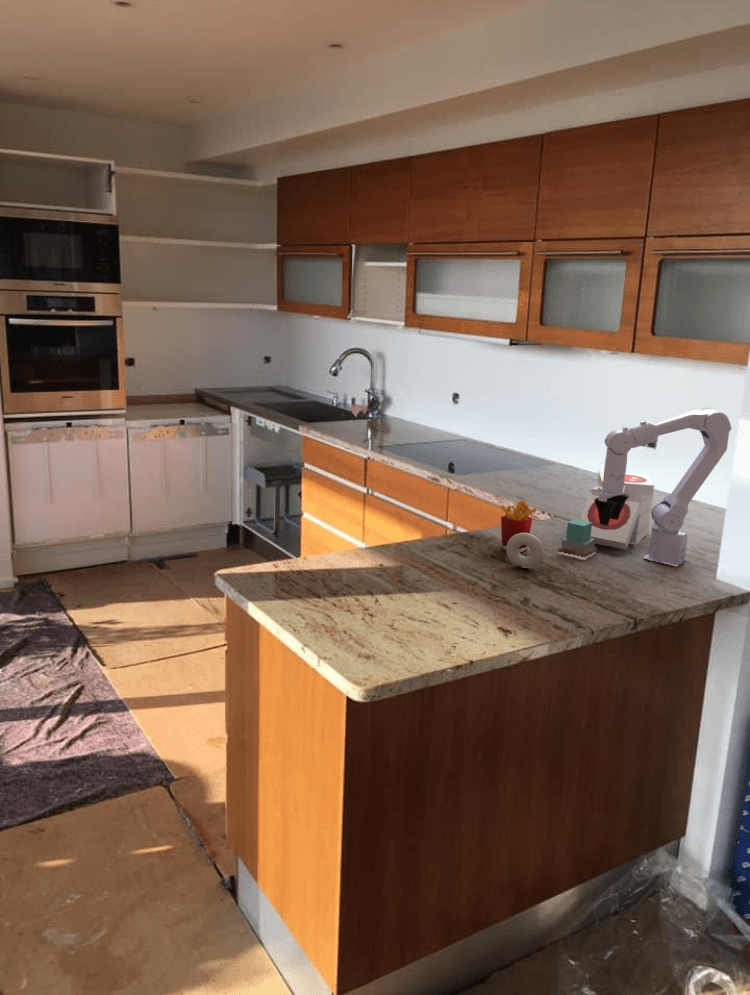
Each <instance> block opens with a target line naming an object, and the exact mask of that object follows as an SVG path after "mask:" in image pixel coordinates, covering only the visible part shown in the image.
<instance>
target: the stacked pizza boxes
mask: <svg viewBox="0 0 750 995" xmlns="http://www.w3.org/2000/svg"><path fill="white" fill-rule="evenodd" d="M597 474H598V475H597V483H598V484H597V485H596V486H594V487H592V489H591V494H589V496H588V498H587V501H586V503H585V506H584V509H583V511H582V513H581V516H580V519H579V520H583V521H587V522H592V528H591V538H592V539H595V543H594V545H595V544H597V545H601V546H607V547H611V548H617V549H621V550H627V549H628V546H629V544H628V543H629V542H630V543H635V544H636V543H637V542H638V543H640V542H641V541H642V540H643V539H644V538H645V537H646V536H647V535H648V534H649V529H650V521H651V511H652V508H653V507H652V506H653V499H654V490H655V484H654V483H653V481H652V480H651V478H650V476H649V475H648V474H646V473H645V474H644V473H633V472H626V474H625V482H624V486H626V487H625V493H624V494H627V495H629V497H628V499H627V500H626V502H625V503H624V505H623V508H622V510H621V513H620V516H619V518H618V520H615V519H610V521H609V524H608V525H602V524H600V521H599V513H598V509H597V506H596V504H595V499H596V498H599V494H600V493H601V491H599V490H598V488H599V487H602V486H603V477H604V470H598V473H597ZM644 536H645V537H644ZM643 537H644V538H643ZM642 538H643V539H642ZM641 539H642V540H641ZM640 540H641V541H640ZM638 543H637V544H638ZM637 544H636V545H637Z"/></svg>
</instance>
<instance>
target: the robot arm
mask: <svg viewBox="0 0 750 995" xmlns="http://www.w3.org/2000/svg"><path fill="white" fill-rule="evenodd" d="M686 429H692V430H695V431H699V433H700V434H701V437H702V440H703V444H704V446H703V448H702V449H701V451H700V452H699V453H698V455H697V456H696V457H695V459H694V461H693V462H692V464H691V465H690V466H689V468H688V469H687V470H686V471H685V473H684V475H683V476H682V477H681V479H680V481H678V483H677V485H676V486H675V488H674V489H673V490H672V492H671V493H669V494H668V495H665V496H664V497H663V498H662V500H661V501H660V502H658V503H656V504H655V505H653V507H652V508H651V515H650V517H651V518H652V520H653V521H654V522H653V524H652V526H651V533H650V535H651V536H650V542H649V548H648V554H647V555H645V556H644V557H643V558H644V559H646V558H647V559H649V560H653V561H658V562H666V563H670V564H674V565H678V564H680V563H681V564H683V563H684V562H685V561H686V554H687V553H686V552H687V546H688V534H687V533H685V532H682V531H680V529H682V527H683V525H684V520H685V517H686V515H687V514H688V510H689V504H690V503H691V501H692V499H693V498H694V497H695V495H696V493H697V492H698V491H699V490H700V488H701V487H702V486H703V484H704V483H705V481H706V480H707V479H708V477H709V475H710V474H711V473H712V471H714V468H715V467H716V466H717V465H718V463H719V462H720V460H721V459H722V457H723V456H724V454H725V453H726V451H727V450H728V444H729V434H730V432H731V430H732V425H731V421H730V419H729V417H728V415H727V414H725V413H723V412H720V411H717V410H715V409H713V408H712V407H702V408H701V409H693V410H690V411H688V412H686V413H683V414H680V415H677V416H674V417H672V418H669V419H666V420H663V421H660V422H657V423H653V422H652V421H645V420H641V421H640V422H639V423H638V424H636V425H633V426H630V427H627V426H623V427H622V430H619V429H614V430H611V431H610V432H609V433H608V434H607V435H606V438H604V444H605V446H606V453H605V454H606V456H605V460H604V469H603V471H604V477H603V486H602V487H599V488H598V490H599V491H601V493H600V494H599V498H596V499H595V504H596V506H597V509H598V513H599V521H600V524H602V525H608V524H609V521H610V519H615V520H618V518H619V516H620V513H621V510H622V508H623V505H624V503H625V502H626V500H627V499H628V497H629V495H627V494H624V493H625V487H626V486H624V482H625V474H626V473H627V464H628V455H629V454H628V453H629V452H630V451H631V449H635V448H638V447H641V446H644V445H648V444H651V443H654V442H657V439H658V438H659V437H660V436H662V435H667V434H670V433H675V432H678V431H681V430H686ZM644 559H643V560H644ZM684 560H685V561H684ZM683 561H684V562H683ZM681 564H680V565H681Z"/></svg>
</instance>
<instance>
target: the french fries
mask: <svg viewBox="0 0 750 995" xmlns="http://www.w3.org/2000/svg"><path fill="white" fill-rule="evenodd" d="M500 507H501V509H502V510H503V511H504V513H505V515H503V516H501V517H500V525H501V528H500V529H501V531H500V532H501V546H502V545H503V546H506V547H507V543H508V541H509V540H510V538H511V537H513V536H514V535H515V534H518V533H529V534H531V533H530V532H531V528H532V523H533V517H531V515H532V514H534V513H535V512H537V508H536V507H534V508H532V509H531V507H529V504H527V502H526V501H525V500H522V499H520V501H518V503H517V505H516V506H514V505H512V506H511V505H507V507H506V506H505V504H502V505H501V506H500ZM511 509H512V510H513V512H512V510H511ZM525 547H528V546H526V545H522V546H520V547H519V549H521V548H525Z"/></svg>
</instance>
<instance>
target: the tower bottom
mask: <svg viewBox="0 0 750 995" xmlns="http://www.w3.org/2000/svg"><path fill="white" fill-rule="evenodd" d="M558 551H559V552H564V553H568V554H573V555H577V556H581V557H586V556H588V555H590V554H592V553H594V552H596V553H597V547H596V546H594V548H593V549H591V550H589V551H588V552H586V553H581V552H577V551H572V550H567V549H563V548H561V546H559V547H558V550H557V552H558Z"/></svg>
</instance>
